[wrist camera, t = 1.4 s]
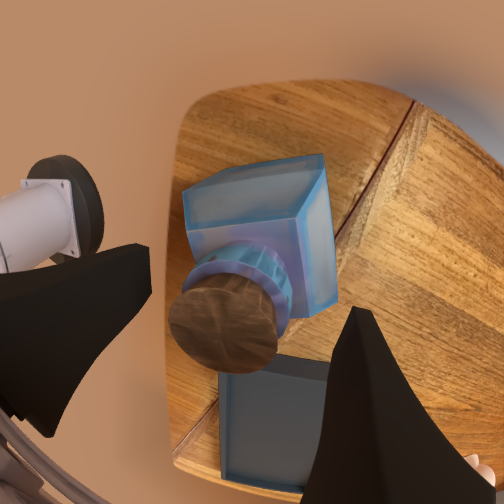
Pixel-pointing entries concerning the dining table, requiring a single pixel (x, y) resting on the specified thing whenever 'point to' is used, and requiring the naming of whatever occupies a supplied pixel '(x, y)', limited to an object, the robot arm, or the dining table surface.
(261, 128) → the dining table surface
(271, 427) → the tray
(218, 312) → the perfume bottle
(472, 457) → the figurine
